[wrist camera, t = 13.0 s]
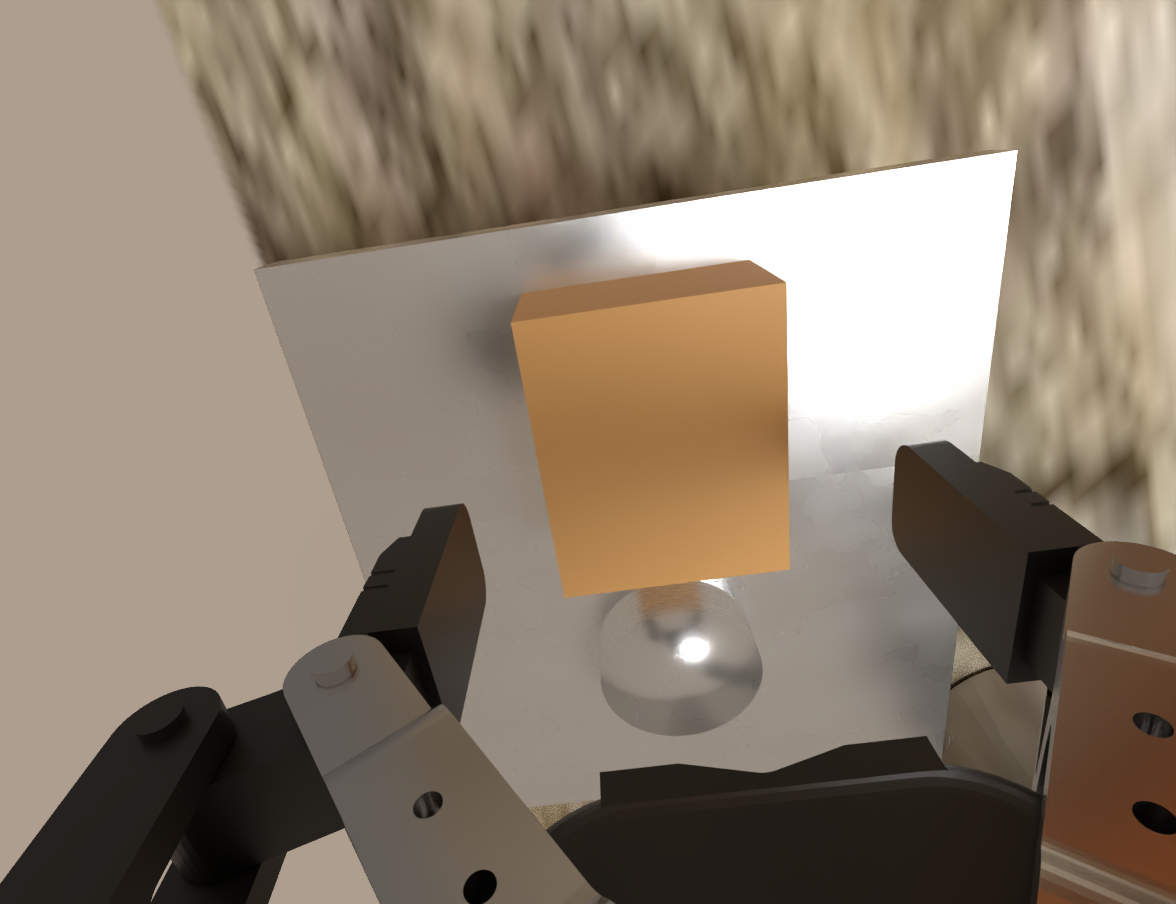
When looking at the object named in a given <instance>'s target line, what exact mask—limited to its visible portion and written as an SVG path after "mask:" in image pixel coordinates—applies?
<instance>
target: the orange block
mask: <svg viewBox="0 0 1176 904" xmlns="http://www.w3.org/2000/svg"><path fill="white" fill-rule="evenodd" d="M511 327H512V332H513V337H514V342H515V347H516V352H517V358H518V363H519V368H520V373H521V378H522V383H523V388H524V393H525V399H526V404H527V409H528V414H529V419H530V424H531V429H532V434H533V440H534V445H535V450H536V455H537V460H538V465H539V470H540V475H541V481H542V486H543V491H544V496H545V501H546V506H547V511H548V516H549V522H550V527H551V532H552V537H553V542H554V547H555V552H556V558H557V563H558V568H559V573H560V578H561V583H562V588H563V593H564V598H569V597H577V596H585V595H593V594H600V593H608V592H616V591H624V590H632V589H640V588H648V587H656V586H664V585H672V584H680V583H688V582H695V581H703V580H711V579H719V578H727V577H735V576H743V575H751V574H759V573H767V572H775V571H783V570H790V538H789V445H788V353H787V282H785V281H784V280H782V279H780V278H779V277H777V276H776V275H774V274H772V273H771V272H769V271H767V270H766V269H764V268H763V267H761V266H759V265H758V264H756V263H754V262H753V261H751V260H744V261H737V262H731V263H724V264H717V265H710V266H704V267H697V268H690V269H683V270H677V271H670V272H663V273H656V274H650V275H643V276H636V277H629V278H623V279H616V280H609V281H602V282H595V283H589V284H582V285H575V286H568V287H562V288H555V289H548V290H541V291H535V292H528V293H522V294H521V297H520V300H519V302H518V305H517V307H516V310H515V313H514V315H513V318H512V321H511Z"/></svg>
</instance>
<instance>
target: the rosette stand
mask: <svg viewBox="0 0 1176 904" xmlns="http://www.w3.org/2000/svg"><path fill="white" fill-rule="evenodd" d="M1016 157H1017V150H986V151H980V152H974V153H967V154H961V155H954V156H948V157H942V158H935V159H929V160H923V161H916V162H910V163H903V164H897V165H891V166H884V167H878V168H871V169H865V170H859V171H852V172H846V173H840V174H833V175H827V176H820V177H814V178H808V179H801V180H795V181H789V182H782V183H776V184H769V185H763V186H757V187H750V188H744V189H738V190H731V191H725V192H718V193H712V194H706V195H699V196H693V197H687V198H680V199H674V200H667V201H661V202H655V203H648V204H642V205H635V206H629V207H623V208H616V209H610V210H604V211H597V212H591V213H584V214H578V215H572V216H565V217H559V218H553V219H546V220H540V221H533V222H527V223H521V224H514V225H508V226H502V227H495V228H489V229H482V230H476V231H470V232H463V233H457V234H451V235H444V236H438V237H431V238H425V239H419V240H412V241H406V242H399V243H393V244H387V245H380V246H374V247H368V248H361V249H355V250H348V251H342V252H336V253H329V254H323V255H317V256H310V257H304V258H297V259H291V260H285V261H278V262H274V263H271V264H268V265H265V266H263V267H260V268H257V269H255V270H254V271H255V274H256V277H257V280H258V282H259V285H260V288H261V291H262V294H263V296H264V299H265V302H266V305H267V307H268V310H269V313H270V316H271V319H272V321H273V324H274V327H275V330H276V333H277V335H278V338H279V341H280V344H281V347H282V350H283V352H284V355H285V358H286V361H287V363H288V366H289V369H290V372H291V375H292V378H293V380H294V383H295V386H296V389H297V392H298V394H299V397H300V400H301V403H302V405H303V408H304V411H305V414H306V417H307V419H308V422H309V425H310V428H311V430H312V434H313V436H314V439H315V442H316V445H317V447H318V450H319V453H320V456H321V458H322V461H323V464H324V467H325V470H326V472H327V475H328V478H329V481H330V483H331V487H332V489H333V492H334V495H335V498H336V501H337V503H338V506H339V509H340V512H341V514H342V517H343V520H344V523H345V526H346V529H347V531H348V534H349V537H350V540H351V542H352V545H353V548H354V551H355V554H356V556H357V559H358V562H359V565H360V568H361V571H362V573H363V576H364V579H365V582H366V581H367V579H368V577H369V576H371V571H372V569H373V567H374V565H375V563H376V561H377V559H378V557H379V555H380V554H381V553H382V552H383V551H384V550H386V549H387V548H388V547H389V546H390V545H391V544H392V543H393V542H394V541H395V540H397V539H398V538H399V537H407V536H411V534H412V532H413V530H414V528H415V525H416V523H417V521H418V519H419V517H420V514H421V512H422V510H423V509H425V508H431V507H438V506H446V505H453V504H461V503H463V504H464V505H465V506H466V508H467V510H468V513H469V516H470V520H471V524H472V528H473V532H474V535H475V539H476V543H477V547H478V551H479V555H480V559H481V563H482V567H483V571H484V575H485V582H486V604H485V609H484V614H483V619H482V623H481V628H480V633H479V638H478V642H477V647H476V652H475V656H474V661H473V666H472V670H471V675H470V680H469V684H468V689H467V694H466V698H465V703H464V708H463V713H462V717H461V722H460V724H461V725H462V727H463V728H464V729H465V730H466V732H467V733H468V734H469V735H470V737H471V738H472V739H473V740H474V742H475V743H476V744H477V745H478V747H479V748H480V749H481V750H482V752H483V753H484V754H485V755H486V757H487V758H488V759H489V760H490V761H491V763H492V764H493V765H494V766H495V768H496V769H497V770H498V771H499V773H500V774H501V775H502V776H503V778H504V779H505V780H506V781H507V783H508V784H509V785H510V786H511V788H512V789H513V790H514V791H515V793H516V794H517V795H518V796H519V798H520V799H521V800H522V801H523V803H524V804H525V805H526V806H527V808H529V807H538V806H547V805H555V804H564V803H573V802H581V801H590V800H599V799H601V797H600V772H606V771H615V770H624V769H633V768H642V767H651V766H660V765H669V764H678V763H679V764H688V765H697V766H705V767H714V768H723V769H732V770H740V771H749V772H758V773H766V772H772V771H775V770H778V769H781V768H783V767H786V766H789V765H792V764H794V763H797V762H800V761H802V760H805V759H808V758H811V757H813V756H816V755H819V754H821V753H824V752H827V751H830V750H832V749H835V748H838V747H840V746H843V745H849V744H858V743H867V742H876V741H885V740H894V739H903V738H912V737H921V736H927V737H928V739H929V741H930V742H931V744H932V746H933V747H934V749H935V751H936V752H937V754H938V756H939V757H940V759H942V751H943V743H944V735H945V727H946V719H947V711H948V703H949V695H950V687H951V679H952V671H953V663H954V655H955V647H956V639H957V631H958V624H957V622H956V621H955V620H954V619H953V617H952V616H951V615H950V614H949V612H948V611H947V610H946V609H945V608H944V606H943V605H942V604H941V603H940V601H939V600H938V599H937V598H936V596H935V595H934V594H933V593H932V591H931V590H930V589H929V588H928V587H927V585H926V584H925V583H924V582H923V580H922V579H921V578H920V577H919V575H918V574H917V573H916V572H915V570H914V569H913V568H912V567H911V566H910V564H909V563H908V562H907V561H906V559H905V558H904V557H903V556H902V554H901V553H900V551H899V549H898V547H897V545H896V543H895V540H894V536H893V532H892V502H893V485H894V468H895V457H896V453H897V450H898V448H899V447H900V446H902V445H908V444H915V443H923V442H930V441H938V440H947V441H949V442H951V443H952V444H953V445H954V446H956V447H957V448H958V449H960V450H961V451H962V452H964V453H965V454H966V455H967V456H969V457H970V458H971V459H973V460H974V461H975V462H979V454H980V446H981V438H982V430H983V422H984V414H985V406H986V398H987V390H988V382H989V374H990V366H991V358H992V350H993V342H994V334H995V326H996V318H997V309H998V301H999V293H1000V285H1001V277H1002V269H1003V261H1004V253H1005V245H1006V237H1007V229H1008V221H1009V213H1010V205H1011V197H1012V189H1013V181H1014V173H1015V165H1016ZM744 260H751V261H753V262H754V263H756V264H758V265H759V266H761V267H763V268H764V269H766V270H767V271H769V272H771V273H772V274H774V275H776V276H777V277H779V278H780V279H782V280H784V281H785V282H787V353H788V445H789V538H790V570H783V571H775V572H767V573H759V574H751V575H743V576H735V577H727V578H719V579H711V580H703V581H695V582H688V583H680V584H672V585H664V586H656V587H648V588H640V589H632V590H624V591H616V592H608V593H600V594H593V595H585V596H577V597H569V598H564V593H563V588H562V583H561V578H560V573H559V568H558V563H557V558H556V552H555V547H554V542H553V537H552V532H551V527H550V522H549V516H548V511H547V506H546V501H545V496H544V491H543V486H542V481H541V475H540V470H539V465H538V460H537V455H536V450H535V445H534V440H533V434H532V429H531V424H530V419H529V414H528V409H527V404H526V399H525V393H524V388H523V383H522V378H521V373H520V368H519V363H518V358H517V352H516V347H515V342H514V337H513V332H512V327H511V321H512V318H513V315H514V313H515V310H516V307H517V305H518V302H519V300H520V297H521V294H522V293H528V292H535V291H541V290H548V289H555V288H562V287H568V286H575V285H582V284H589V283H595V282H602V281H609V280H616V279H623V278H629V277H636V276H643V275H650V274H656V273H663V272H670V271H677V270H683V269H690V268H697V267H704V266H710V265H717V264H724V263H731V262H737V261H744Z"/></svg>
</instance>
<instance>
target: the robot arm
mask: <svg viewBox="0 0 1176 904" xmlns="http://www.w3.org/2000/svg"><path fill="white" fill-rule="evenodd" d="M892 532H893V536H894V540H895V543H896V545H897V547H898V549H899V551H900V553H901V554H902V556H903V557H904V558H905V559H906V561H907V562H908V563H909V564H910V566H911V567H912V568H913V569H914V570H915V572H916V573H917V574H918V575H919V577H920V578H921V579H922V580H923V582H924V583H925V584H926V585H927V587H928V588H929V589H930V590H931V591H932V593H933V594H934V595H935V596H936V598H937V599H938V600H939V601H940V603H941V604H942V605H943V606H944V608H945V609H946V610H947V611H948V612H949V614H950V615H951V616H952V617H953V619H954V620H955V621H956V622H957V624H958V625H959V626H960V627H961V629H962V630H963V631H964V632H965V633H966V635H967V636H968V637H969V638H970V640H971V641H972V642H973V643H974V645H975V646H976V647H977V648H978V650H979V651H980V652H981V653H982V654H983V656H984V657H985V658H986V659H987V661H988V662H989V663H990V664H991V666H992V667H993V668H994V669H991V670H987V671H985V672H982V673H980V674H978V675H975V676H973V677H970V678H969V679H967V680H965V681H964V682H962V683H960V684H959V685H957V686H955V687H954V688H953V689H951V690H950V695H949V703H948V711H947V719H946V727H945V735H944V743H943V751H942V759H940V757H939V756H938V754H937V752H936V751H935V749H934V747H933V746H932V744H931V742H930V741H929V739H928V737H927V736H921V737H912V738H903V739H894V740H885V741H876V742H867V743H858V744H849V745H843V746H840V747H838V748H835V749H832V750H830V751H827V752H824V753H821V754H819V755H816V756H813V757H811V758H808V759H805V760H802V761H800V762H797V763H794V764H792V765H789V766H786V767H783V768H781V769H778V770H775V771H772V772H766V773H758V772H749V771H740V770H732V769H723V768H714V767H705V766H697V765H688V764H679V763H678V764H669V765H660V766H651V767H642V768H633V769H624V770H615V771H606V772H600V797H601V799H599V800H597V801H594V802H592V803H589V804H587V805H585V806H583V807H581V808H579V809H577V810H575V811H573V812H571V813H569V814H568V815H566V816H565V817H563V818H562V819H560V820H559V821H557V822H556V823H554V824H553V825H552V826H550V827H549V828H548V829H547V830H545V829H544V827H543V826H542V825H541V824H540V822H539V821H538V820H537V819H536V817H535V816H534V815H533V814H532V812H531V811H530V810H529V809H528V808H527V806H526V805H525V804H524V803H523V801H522V800H521V799H520V798H519V796H518V795H517V794H516V793H515V791H514V790H513V789H512V788H511V786H510V785H509V784H508V783H507V781H506V780H505V779H504V778H503V776H502V775H501V774H500V773H499V771H498V770H497V769H496V768H495V766H494V765H493V764H492V763H491V761H490V760H489V759H488V758H487V757H486V755H485V754H484V753H483V752H482V750H481V749H480V748H479V747H478V745H477V744H476V743H475V742H474V740H473V739H472V738H471V737H470V735H469V734H468V733H467V732H466V730H465V729H464V728H463V727H462V725H461V724H460V722H461V717H462V713H463V708H464V703H465V698H466V694H467V689H468V684H469V680H470V675H471V670H472V666H473V661H474V656H475V652H476V647H477V642H478V638H479V633H480V628H481V623H482V619H483V614H484V609H485V604H486V582H485V575H484V571H483V567H482V563H481V559H480V555H479V551H478V547H477V543H476V539H475V535H474V532H473V528H472V524H471V520H470V516H469V513H468V510H467V508H466V506H465V505H464V504H463V503H461V504H453V505H446V506H438V507H431V508H425V509H423V510H422V512H421V514H420V517H419V519H418V521H417V523H416V525H415V528H414V530H413V532H412V534H411V536H407V537H399V538H398V539H397V540H395V541H394V542H393V543H392V544H391V545H390V546H389V547H388V548H387V549H386V550H384V551H383V552H382V553H381V554H380V555H379V557H378V559H377V561H376V563H375V565H374V567H373V569H372V571H371V576H369V577H368V579H367V581H366V583H365V585H364V587H363V589H364V591H362V592H361V593H360V595H359V597H358V599H357V601H356V603H355V605H354V607H353V609H352V611H351V613H350V615H349V617H348V619H347V621H346V623H345V625H344V627H343V629H342V631H341V633H340V635H339V636H338V638H337V639H334V640H331V641H328V642H326V643H324V644H322V645H320V646H318V647H316V648H315V649H313V650H311V651H310V652H308V653H307V654H305V655H304V656H303V657H302V658H301V659H299V660H298V661H297V663H295V665H294V666H293V667H292V668H291V669H290V671H289V672H288V674H287V676H286V678H285V680H284V684H283V689H282V690H279V691H277V692H274V693H272V694H269V695H266V696H263V697H261V698H257V699H255V700H252V701H249V702H246V703H243V704H240V705H237V706H234V707H232V708H229V709H226V707H225V706H224V703H223V701H222V700H221V698H220V696H219V694H218V693H217V692H216V691H215V690H213V689H211V688H208V687H189V688H185V689H180V690H177V691H174V692H171V693H169V694H166V695H164V696H162V697H160V698H158V699H156V700H154V701H152V702H150V703H149V704H147V705H145V706H143V707H142V708H140V709H139V710H138V711H136V712H135V713H134V714H132V715H131V716H130V717H129V718H127V719H126V720H125V721H124V722H123V723H122V724H121V725H120V726H119V727H118V728H117V729H116V730H115V732H114V733H113V734H112V735H111V737H110V738H109V739H108V741H107V742H106V743H105V745H104V746H103V747H102V748H101V750H100V751H99V753H98V754H97V755H96V757H95V758H94V759H93V760H92V762H91V763H90V765H89V766H88V767H87V769H86V770H85V771H84V773H83V774H82V775H81V777H80V778H79V779H78V781H77V782H76V783H75V785H74V786H73V787H72V789H71V790H70V791H69V793H68V794H67V796H66V797H65V798H64V799H63V801H62V802H61V803H60V805H59V806H58V807H57V809H56V810H55V811H54V813H53V814H52V815H51V817H50V818H49V820H48V821H47V822H46V823H45V825H44V826H43V827H42V829H41V830H40V831H39V833H38V834H37V835H36V837H35V838H34V839H33V841H32V842H31V843H30V845H29V846H28V847H27V849H26V850H25V852H24V853H23V854H22V856H21V857H20V858H19V860H18V861H17V862H16V863H15V865H14V866H13V867H12V869H11V870H10V871H9V873H8V874H7V875H6V877H5V878H4V880H3V881H2V882H1V883H0V904H268V902H269V900H270V897H271V894H272V891H273V889H274V886H275V883H276V881H277V878H278V875H279V872H280V870H281V866H282V864H283V861H284V858H285V856H286V853H287V852H288V851H290V850H293V849H295V848H297V847H300V846H302V845H305V844H307V843H309V842H312V841H314V840H317V839H319V838H322V837H324V836H327V835H329V834H331V833H334V832H336V831H339V830H341V829H343V828H345V830H346V832H347V834H348V836H349V838H350V841H351V843H352V845H353V847H354V849H355V851H356V854H357V856H358V858H359V860H360V862H361V864H362V866H363V868H364V871H365V873H366V875H367V877H368V879H369V882H370V884H371V886H372V888H373V890H374V892H375V894H376V897H377V899H378V901H379V903H380V904H1176V555H1175V554H1173V553H1170V552H1168V551H1165V550H1162V549H1159V548H1155V547H1151V546H1147V545H1143V544H1138V543H1130V542H1119V541H1105V542H1104V541H1102V540H1101V539H1100V538H1098V537H1097V536H1096V535H1094V534H1093V533H1091V532H1090V531H1089V530H1087V529H1086V528H1085V527H1083V526H1082V525H1081V524H1079V523H1078V522H1076V521H1075V520H1074V519H1072V518H1071V517H1070V516H1068V515H1067V514H1066V513H1064V512H1063V511H1061V510H1060V509H1059V508H1057V507H1056V506H1055V505H1053V504H1052V505H1049V501H1048V500H1046V499H1045V498H1044V497H1042V496H1041V495H1040V494H1038V493H1037V492H1032V490H1031V488H1030V487H1029V486H1027V485H1026V484H1025V483H1023V482H1022V481H1021V480H1019V479H1018V478H1016V477H1015V476H1014V475H1012V474H1011V473H1009V472H1006V471H1004V470H1001V469H998V468H996V467H993V466H991V465H988V464H985V463H983V462H975V461H974V460H973V459H971V458H970V457H969V456H967V455H966V454H965V453H964V452H962V451H961V450H960V449H958V448H957V447H956V446H954V445H953V444H952V443H951V442H949V441H947V440H938V441H930V442H923V443H915V444H908V445H902V446H900V447H899V448H898V450H897V453H896V457H895V468H894V485H893V502H892ZM170 859H171V860H172V864H171V865H170V867H169V869H168V871H167V873H166V875H165V877H164V879H163V881H162V882H161V884H160V887H159V888H158V890H157V892H156V894H155V896H154V898H153V900H152V901H151V899H152V896H153V893H154V890H155V888H156V885H157V884H158V881H159V880H160V878H161V876H162V874H163V872H164V870H165V868H166V866H167V865H168V863H169V861H170Z"/></svg>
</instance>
